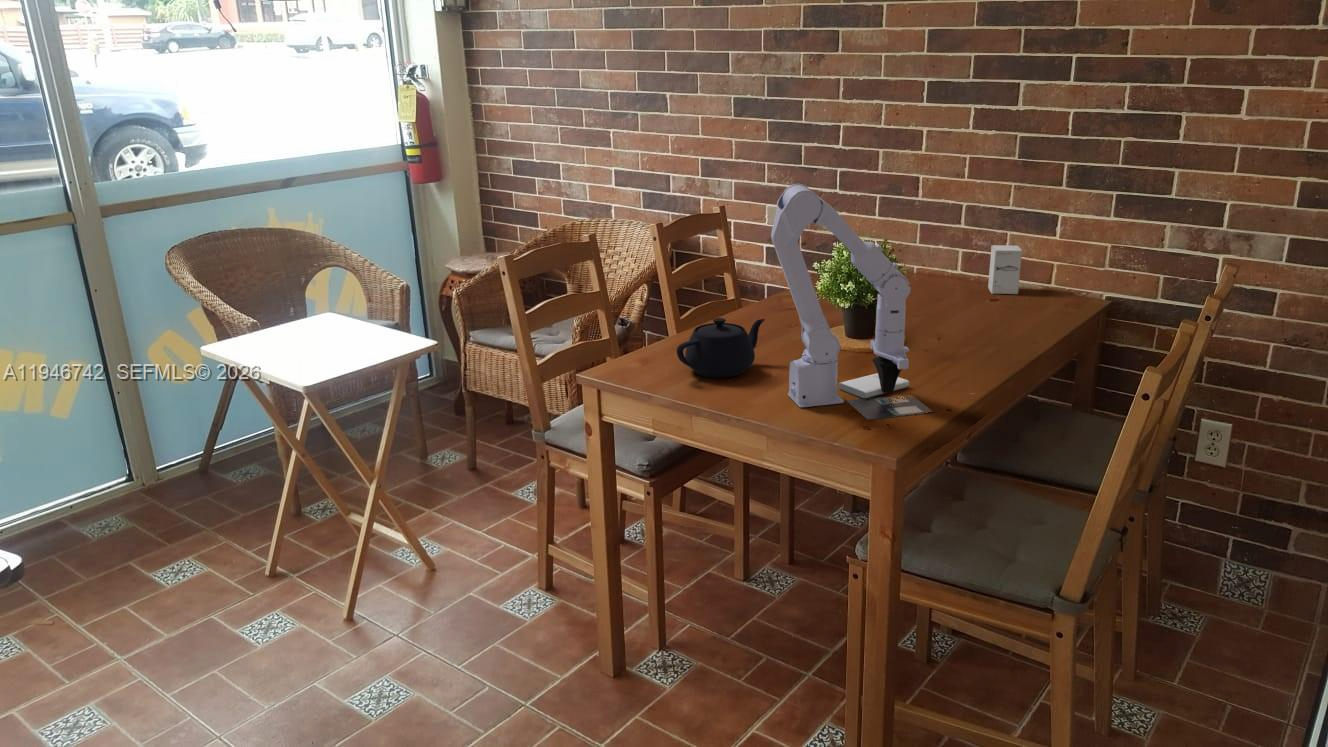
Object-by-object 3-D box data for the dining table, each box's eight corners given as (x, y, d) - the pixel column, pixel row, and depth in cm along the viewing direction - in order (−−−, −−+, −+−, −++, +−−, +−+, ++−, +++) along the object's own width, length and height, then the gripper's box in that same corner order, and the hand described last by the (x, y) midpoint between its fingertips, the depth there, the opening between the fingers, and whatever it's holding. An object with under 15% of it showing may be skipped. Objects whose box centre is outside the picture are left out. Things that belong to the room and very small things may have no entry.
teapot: (700, 391, 218) (699, 336, 214) (657, 373, 230) (656, 321, 226) (787, 367, 232) (787, 314, 228) (742, 351, 244) (742, 301, 240)
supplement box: (991, 294, 287) (994, 250, 283) (987, 287, 294) (991, 244, 290) (1018, 294, 285) (1022, 250, 281) (1014, 288, 292) (1018, 244, 288)
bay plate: (867, 419, 200) (867, 419, 200) (846, 400, 210) (846, 400, 210) (933, 412, 202) (933, 411, 202) (909, 394, 213) (909, 393, 213)
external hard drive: (838, 389, 217) (881, 377, 223) (865, 399, 210) (909, 387, 216) (838, 382, 216) (882, 370, 222) (865, 392, 210) (909, 380, 216)
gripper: (924, 336, 201) (920, 401, 205) (893, 317, 215) (891, 378, 219) (890, 339, 200) (887, 405, 204) (862, 320, 213) (859, 381, 218)
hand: (887, 391), depth 211 cm, fingers closed
